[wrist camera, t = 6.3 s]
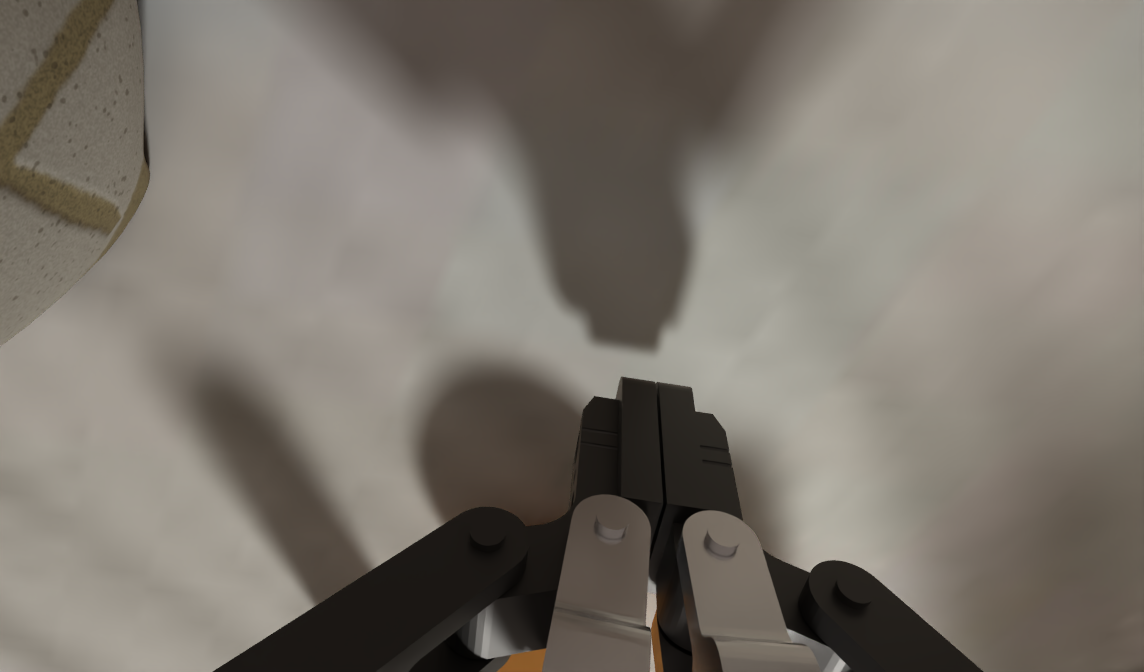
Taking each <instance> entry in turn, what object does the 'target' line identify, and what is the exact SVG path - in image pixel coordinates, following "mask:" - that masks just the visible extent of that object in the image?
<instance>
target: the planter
mask: <svg viewBox="0 0 1144 672" xmlns="http://www.w3.org/2000/svg"><path fill="white" fill-rule="evenodd" d="M143 133H144V66H143V52H142V38H141V26H140V19H139V12H138V6H137V0H0V347H1V346H2V345H3V344H4V343H6V342H7V341H8V340H10V339H11V338H12V337H14V336H15V335H16V334H18V333H19V332H20V331H21V330H23V329H24V328H25V327H27V326H28V325H29V324H30V323H32V322H33V321H34V320H35V319H36V318H37V317H39V316H40V315H41V314H42V313H43V312H44V311H46V310H47V309H48V308H49V307H50V306H51V305H53V304H54V303H55V302H56V301H57V300H58V299H59V298H61V297H62V296H63V295H64V294H65V293H66V292H67V291H68V290H69V289H70V288H71V287H72V286H73V285H74V284H75V283H76V282H77V281H78V280H79V279H80V278H81V277H82V276H84V274H85V273H86V272H87V271H88V270H89V269H90V268H91V267H92V266H93V265H94V264H95V263H96V262H97V261H98V260H99V259H100V258H101V257H102V256H103V255H104V254H105V253H106V252H107V251H108V250H109V248H110V247H111V246H112V245H113V243H114V242H115V241H116V240H117V238H118V237H119V236H120V235H121V233H122V232H123V230H124V229H125V227H126V226H127V224H128V223H129V221H130V220H131V218H132V217H133V215H134V214H135V212H136V210H137V208H138V206H139V204H140V203H141V201H142V199H143V197H144V194H145V192H146V190H147V187H148V184H149V179H150V172H149V168H148V165H147V163H146V161H145V157H144V152H143Z"/></svg>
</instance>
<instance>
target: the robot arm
mask: <svg viewBox="0 0 1144 672" xmlns="http://www.w3.org/2000/svg"><path fill="white" fill-rule="evenodd" d="M731 465H732V463H731V457H730V453H729V447H728V442H727V437H726V432H725V430H724V429H723V427H722V426H721V425H720V423H719V422H718V421H717V419H716V418H715V417H714V415H713V414H708V413H702V412H695V407H694V399H693V392H692V388H691V387H686V386H680V385H673V384H667V383H660V382H657V383H656V384H655V382H653V381H646V380H640V379H633V378H627V377H621V379H620V382H619V386H618V391H617V395H616V399H609V398H603V397H596V396H594V397H593V399H592V400H591V401H590V402H589V404H588V405H587V406H586V407H585V408H584V410H583V414H582V420H581V425H580V431H579V436H578V442H577V447H576V452H575V458H574V463H573V473H572V484H571V493H570V503H569V511H568V512H567V513H566V514H565V515H564V516H562V517H561V518H559V519H557V520H555V521H553V522H550V523H547V524H542V525H535V526H527V527H525V525H524V524H523V522H522V521H521V520H520V519H519V518H518V517H516V516H515V515H513V514H512V513H510V512H508V511H506V510H503V509H499V508H494V507H479V508H474V509H470V510H468V511H465V512H463V513H461V514H460V515H458V516H456V517H455V518H453V519H452V520H450V521H449V522H447V523H445V524H444V525H442V526H441V527H439V528H438V529H436V530H434V531H433V532H431V533H430V534H428V535H427V536H425V537H423V538H422V539H420V540H419V541H417V542H416V543H414V544H412V545H411V546H409V547H408V548H406V549H405V550H403V551H401V552H400V553H398V554H397V555H395V556H394V557H392V558H390V559H389V560H387V561H386V562H384V563H383V564H381V565H379V566H378V567H376V568H375V569H373V570H372V571H370V572H368V573H367V574H365V575H364V576H362V577H361V578H359V579H357V580H356V581H354V582H353V583H351V584H350V585H348V586H346V587H345V588H343V589H342V590H340V591H339V592H337V593H335V594H334V595H332V596H331V597H329V598H328V599H326V600H325V601H323V602H321V603H320V604H318V605H317V606H315V607H314V608H312V609H310V610H309V611H307V612H306V613H304V614H303V615H301V616H299V617H298V618H296V619H295V620H293V621H292V622H290V623H288V624H287V625H285V626H284V627H282V628H281V629H279V630H277V631H276V632H274V633H273V634H271V635H270V636H268V637H266V638H265V639H263V640H262V641H260V642H259V643H257V644H255V645H254V646H252V647H251V648H249V649H248V650H246V651H244V652H243V653H241V654H240V655H238V656H237V657H235V658H233V659H232V660H230V661H229V662H227V663H226V664H224V665H222V666H221V667H219V668H218V669H216V670H215V671H213V672H497V671H498V670H499V669H500V668H501V667H503V666H504V665H505V663H506V662H507V661H508V660H509V658H510V656H511V655H513V654H518V653H524V652H529V651H535V650H540V649H546V652H545V657H544V662H543V667H542V672H650V655H651V636H652V645H653V653H654V662H655V671H656V672H983V671H982V670H981V669H980V668H979V667H977V666H976V665H975V664H974V663H973V662H972V661H971V660H969V659H968V658H967V657H966V656H965V655H964V654H962V653H961V652H960V651H959V650H958V649H957V648H956V647H954V646H953V645H952V644H951V643H950V642H949V641H948V640H946V639H945V638H944V637H943V636H942V635H941V634H939V633H938V632H937V631H936V630H935V629H934V628H933V627H931V626H930V625H929V624H928V623H927V622H926V621H924V620H923V619H922V618H921V617H920V616H919V615H918V614H916V613H915V612H914V611H913V610H912V609H911V608H910V607H908V606H907V605H906V604H905V603H904V602H903V601H901V600H900V599H899V598H898V597H897V596H896V595H895V594H893V593H892V592H891V591H890V590H889V589H888V588H887V587H885V586H884V585H883V584H882V583H881V582H880V581H878V580H877V579H876V578H875V577H874V576H872V575H871V574H870V573H868V572H867V571H865V570H863V569H862V568H860V567H858V566H856V565H853V564H850V563H847V562H843V561H836V560H832V561H825V562H821V563H819V564H817V565H816V566H815V567H814V568H813V569H812V571H811V572H810V573H809V572H807V571H804V570H802V569H800V568H797V567H795V566H792V565H790V564H788V563H785V562H783V561H781V560H779V559H777V558H775V557H773V556H771V555H770V554H768V553H767V552H765V551H764V550H763V549H762V547H761V544H760V541H759V539H758V537H757V535H756V534H755V532H754V531H753V530H752V529H751V528H750V527H749V526H748V525H747V524H746V523H744V522H743V519H742V514H741V509H740V504H739V498H738V493H737V488H736V483H735V478H734V473H733V468H731ZM647 593H653V594H656V599H657V610H656V613H655V616H654V619H653V623H652V627H651V630H650V627H646V608H647Z"/></svg>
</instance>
